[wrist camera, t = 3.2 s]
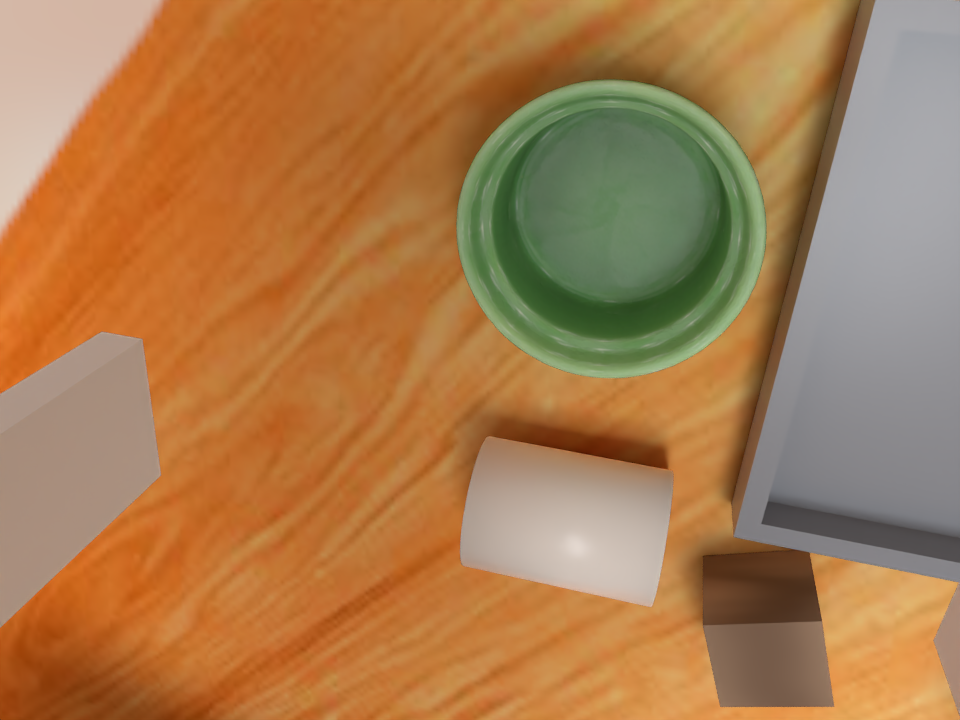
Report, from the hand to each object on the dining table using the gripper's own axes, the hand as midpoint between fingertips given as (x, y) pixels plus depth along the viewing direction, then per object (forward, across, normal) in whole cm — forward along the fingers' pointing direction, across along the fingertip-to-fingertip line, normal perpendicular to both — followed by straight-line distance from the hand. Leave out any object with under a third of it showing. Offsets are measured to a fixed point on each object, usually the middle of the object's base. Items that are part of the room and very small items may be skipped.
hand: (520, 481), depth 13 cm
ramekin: (+17, 0, 0) cm, 17 cm away
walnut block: (+17, +8, -15) cm, 24 cm away
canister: (+16, 0, -10) cm, 19 cm away
